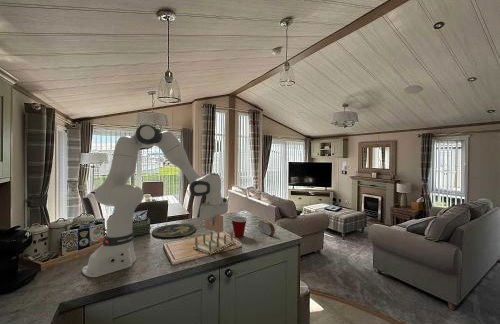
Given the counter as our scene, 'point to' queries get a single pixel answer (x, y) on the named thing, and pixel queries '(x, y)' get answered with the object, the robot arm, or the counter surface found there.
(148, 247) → the counter surface
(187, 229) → the decorative plate
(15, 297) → the counter surface
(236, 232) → the plastic cup
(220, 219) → the terracotta tile
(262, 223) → the tin
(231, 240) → the dish rack
